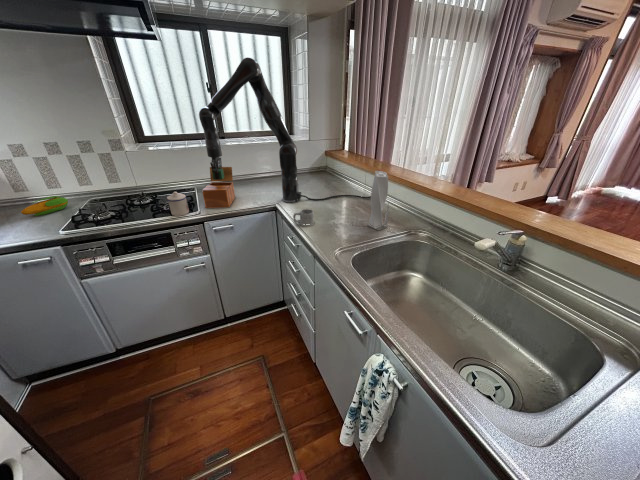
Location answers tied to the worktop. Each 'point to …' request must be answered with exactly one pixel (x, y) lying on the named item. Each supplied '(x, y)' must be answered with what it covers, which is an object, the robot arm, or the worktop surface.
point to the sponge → (221, 174)
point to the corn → (46, 206)
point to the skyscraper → (379, 201)
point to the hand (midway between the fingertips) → (218, 177)
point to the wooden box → (218, 195)
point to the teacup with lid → (178, 204)
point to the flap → (227, 174)
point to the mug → (305, 217)
